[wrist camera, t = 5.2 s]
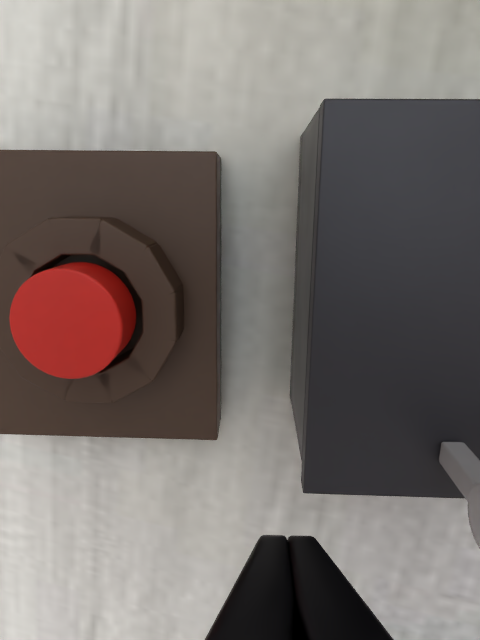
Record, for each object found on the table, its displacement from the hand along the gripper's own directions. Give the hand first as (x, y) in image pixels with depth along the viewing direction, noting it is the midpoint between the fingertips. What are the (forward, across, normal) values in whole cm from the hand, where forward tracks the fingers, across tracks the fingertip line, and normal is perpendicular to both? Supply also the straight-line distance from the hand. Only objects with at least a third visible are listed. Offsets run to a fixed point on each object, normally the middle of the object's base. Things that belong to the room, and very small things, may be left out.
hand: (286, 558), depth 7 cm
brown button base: (+12, +6, -2) cm, 14 cm away
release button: (+9, +6, -2) cm, 11 cm away
